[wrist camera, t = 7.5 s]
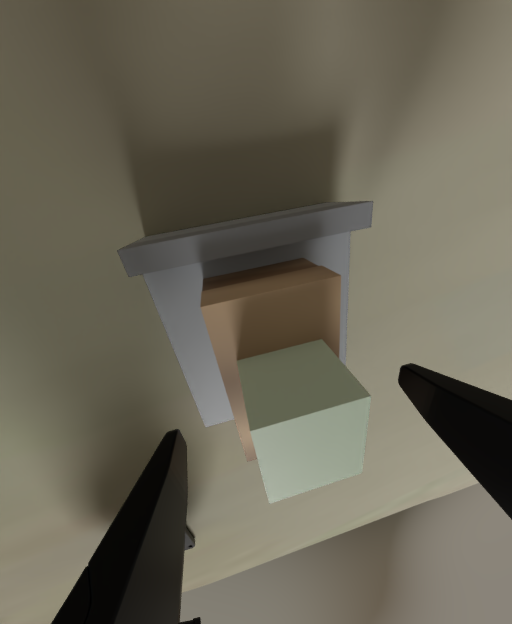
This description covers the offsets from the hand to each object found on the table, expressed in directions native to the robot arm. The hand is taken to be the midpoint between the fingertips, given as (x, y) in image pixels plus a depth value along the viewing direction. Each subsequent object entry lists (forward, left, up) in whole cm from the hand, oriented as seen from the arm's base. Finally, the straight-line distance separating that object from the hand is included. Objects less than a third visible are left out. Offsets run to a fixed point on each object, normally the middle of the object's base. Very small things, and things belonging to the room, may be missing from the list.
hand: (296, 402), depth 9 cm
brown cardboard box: (0, 0, -5) cm, 5 cm away
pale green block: (0, 0, -1) cm, 1 cm away
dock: (0, 0, -7) cm, 7 cm away
